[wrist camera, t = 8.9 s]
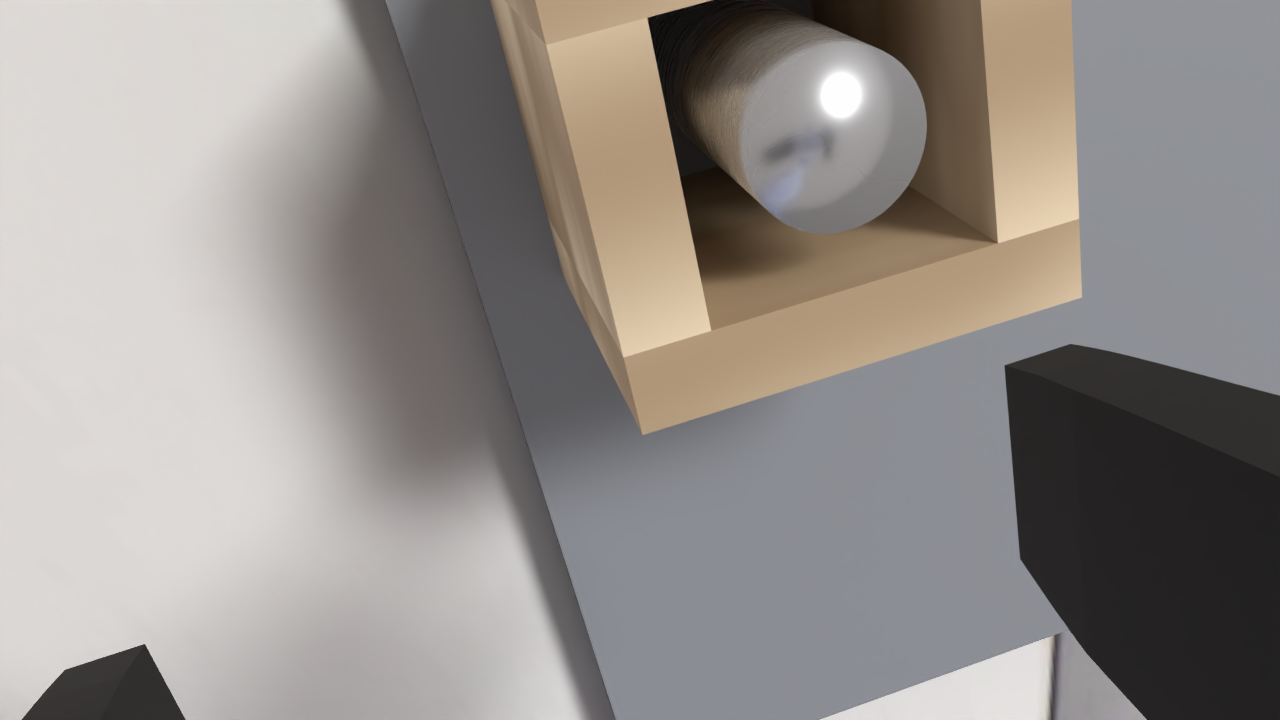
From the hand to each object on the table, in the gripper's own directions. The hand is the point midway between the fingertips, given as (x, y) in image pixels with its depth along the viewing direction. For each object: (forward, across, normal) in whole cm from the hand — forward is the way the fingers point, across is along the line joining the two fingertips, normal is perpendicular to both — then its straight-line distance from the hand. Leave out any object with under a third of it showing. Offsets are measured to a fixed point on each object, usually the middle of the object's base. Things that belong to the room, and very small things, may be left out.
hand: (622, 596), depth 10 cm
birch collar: (+8, -4, -2) cm, 9 cm away
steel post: (+8, -4, -2) cm, 9 cm away
